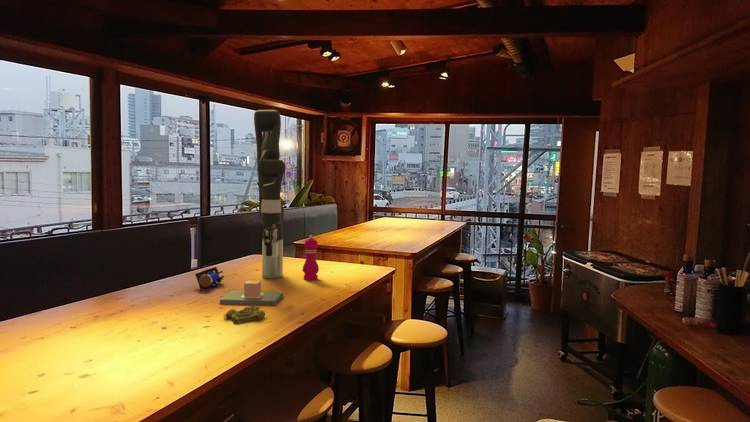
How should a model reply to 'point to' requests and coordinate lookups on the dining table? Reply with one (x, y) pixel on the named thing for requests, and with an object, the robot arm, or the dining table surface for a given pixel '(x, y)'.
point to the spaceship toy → (245, 314)
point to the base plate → (251, 298)
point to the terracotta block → (252, 288)
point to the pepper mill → (310, 260)
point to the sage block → (274, 250)
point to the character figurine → (208, 278)
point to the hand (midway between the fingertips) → (270, 254)
